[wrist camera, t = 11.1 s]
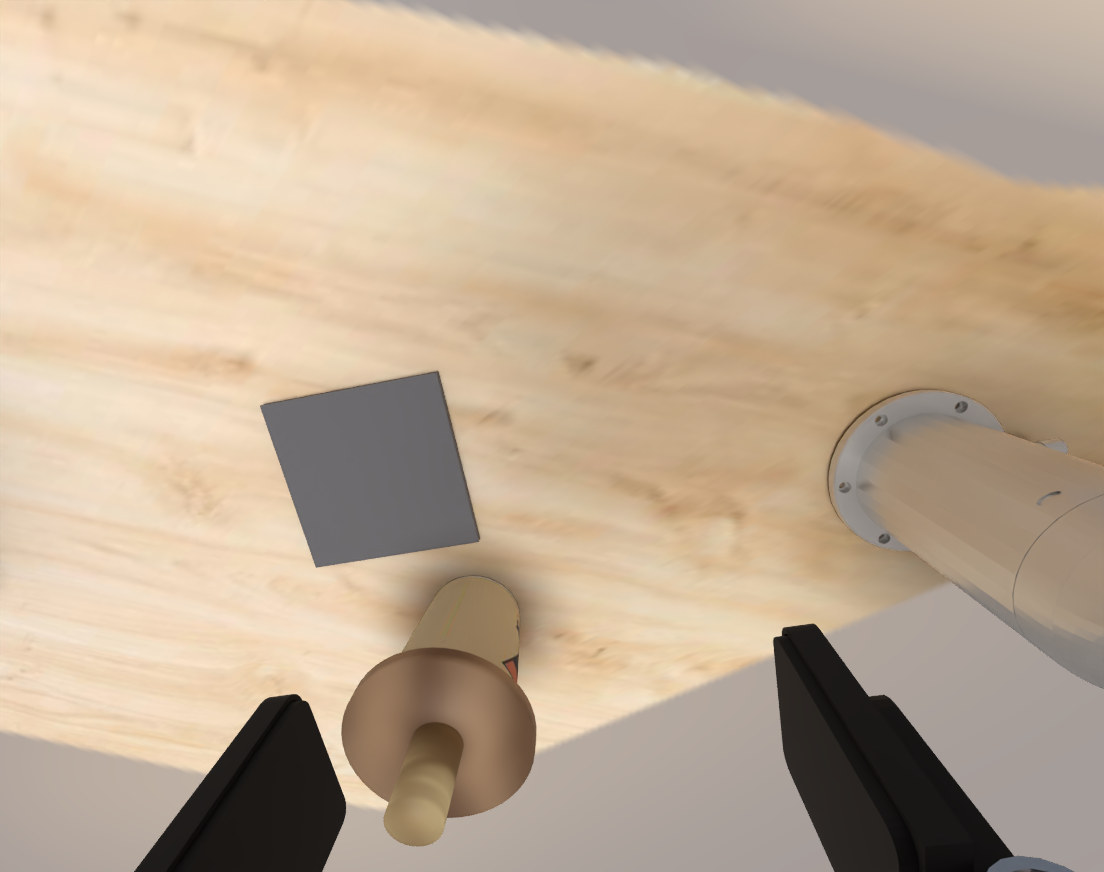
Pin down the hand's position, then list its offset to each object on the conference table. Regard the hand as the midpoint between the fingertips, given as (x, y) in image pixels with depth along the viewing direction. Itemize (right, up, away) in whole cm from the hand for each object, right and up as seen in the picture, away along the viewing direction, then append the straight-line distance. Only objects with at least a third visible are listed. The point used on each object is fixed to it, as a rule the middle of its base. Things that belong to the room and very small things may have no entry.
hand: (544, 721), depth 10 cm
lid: (-7, -13, +23) cm, 27 cm away
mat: (-14, +3, +31) cm, 34 cm away
